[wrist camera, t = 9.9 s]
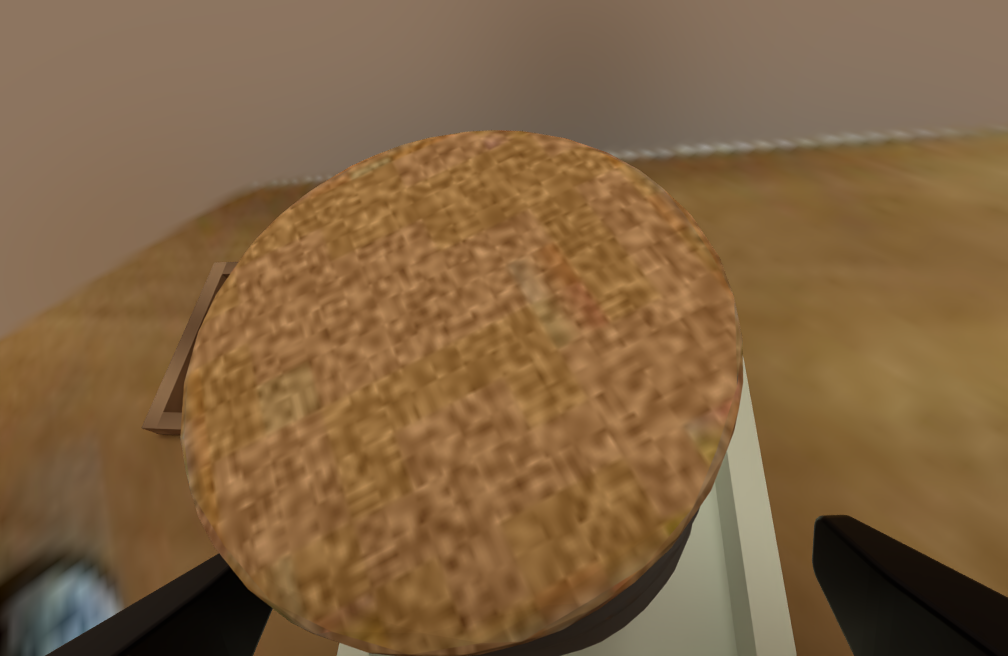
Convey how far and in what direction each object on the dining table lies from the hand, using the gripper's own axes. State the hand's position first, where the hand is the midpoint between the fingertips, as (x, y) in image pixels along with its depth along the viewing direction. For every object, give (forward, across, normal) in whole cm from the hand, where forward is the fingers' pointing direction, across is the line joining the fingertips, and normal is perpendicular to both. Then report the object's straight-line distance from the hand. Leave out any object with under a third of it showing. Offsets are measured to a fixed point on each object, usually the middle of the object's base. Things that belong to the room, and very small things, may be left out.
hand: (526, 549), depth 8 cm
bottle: (+8, 0, +6) cm, 10 cm away
